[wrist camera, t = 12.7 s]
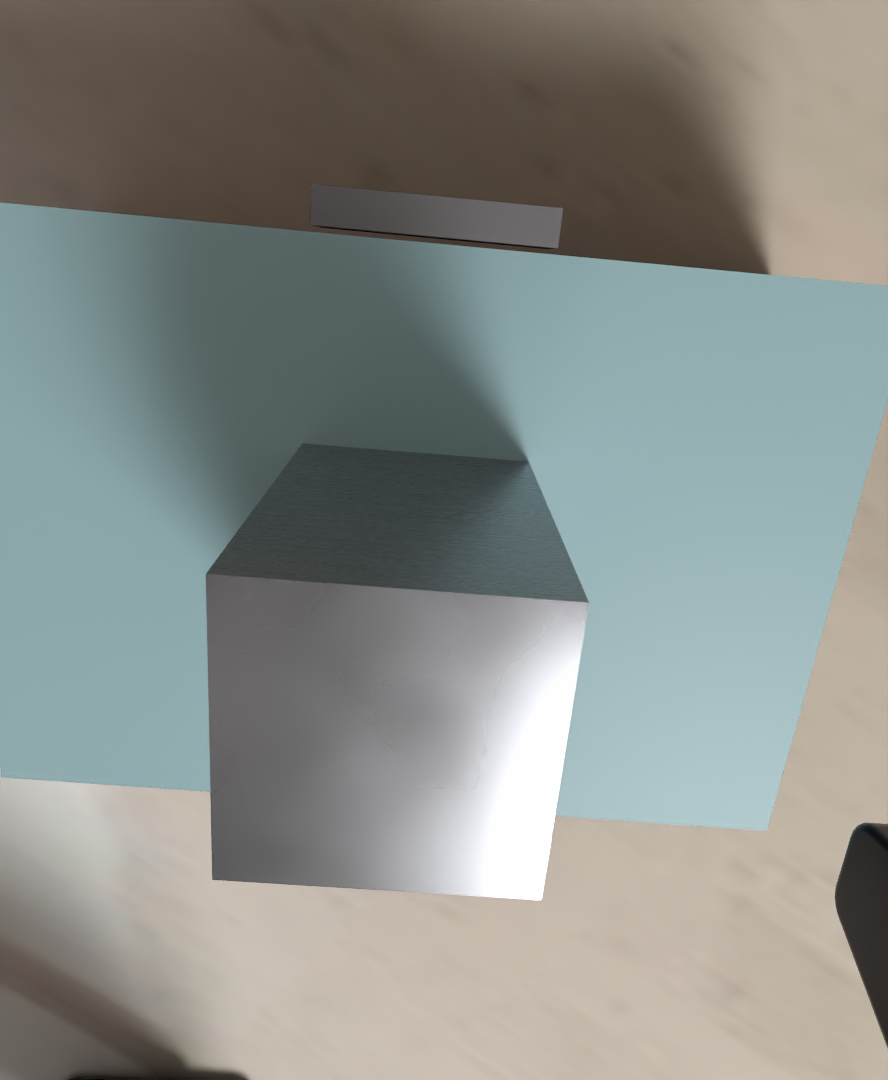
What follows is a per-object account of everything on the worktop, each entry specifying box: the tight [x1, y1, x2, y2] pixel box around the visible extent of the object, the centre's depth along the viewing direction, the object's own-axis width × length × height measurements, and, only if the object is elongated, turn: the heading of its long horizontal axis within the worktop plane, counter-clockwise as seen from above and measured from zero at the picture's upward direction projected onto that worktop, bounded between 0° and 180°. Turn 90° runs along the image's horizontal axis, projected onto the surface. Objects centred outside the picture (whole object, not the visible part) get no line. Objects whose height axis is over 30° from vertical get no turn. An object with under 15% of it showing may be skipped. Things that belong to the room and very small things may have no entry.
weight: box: [206, 443, 589, 900], centre depth 12 cm, size 4×4×6 cm
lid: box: [0, 184, 888, 831], centre depth 15 cm, size 12×16×1 cm
